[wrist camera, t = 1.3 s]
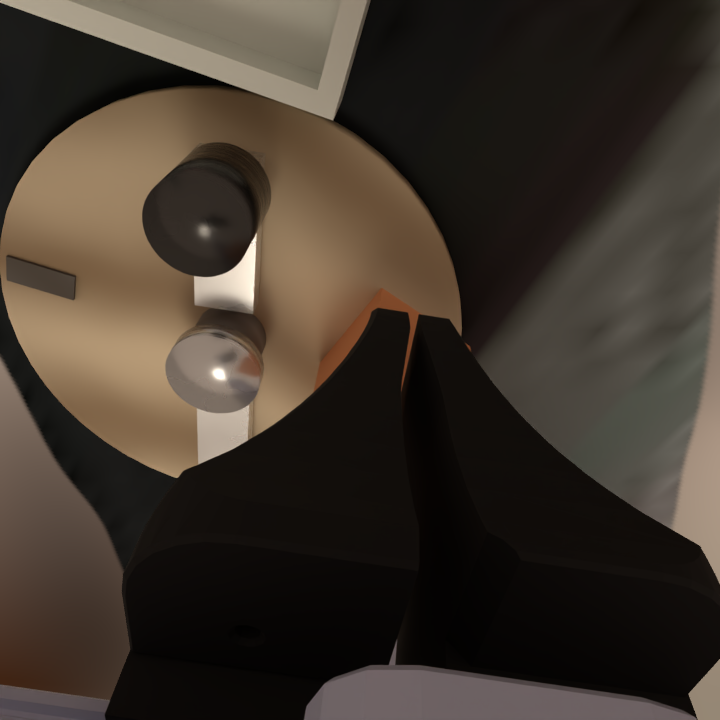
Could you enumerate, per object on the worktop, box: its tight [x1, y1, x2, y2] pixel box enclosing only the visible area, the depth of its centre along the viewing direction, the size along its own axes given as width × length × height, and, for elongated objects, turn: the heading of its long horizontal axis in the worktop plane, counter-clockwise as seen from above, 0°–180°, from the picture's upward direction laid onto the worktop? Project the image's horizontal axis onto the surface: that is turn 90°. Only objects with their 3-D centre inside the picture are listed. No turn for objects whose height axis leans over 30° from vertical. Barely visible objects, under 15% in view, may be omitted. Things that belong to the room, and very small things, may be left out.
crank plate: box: [0, 85, 462, 478], centre depth 22 cm, size 17×17×2 cm
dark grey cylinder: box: [142, 142, 271, 464], centre depth 21 cm, size 14×3×4 cm, turn 172°
